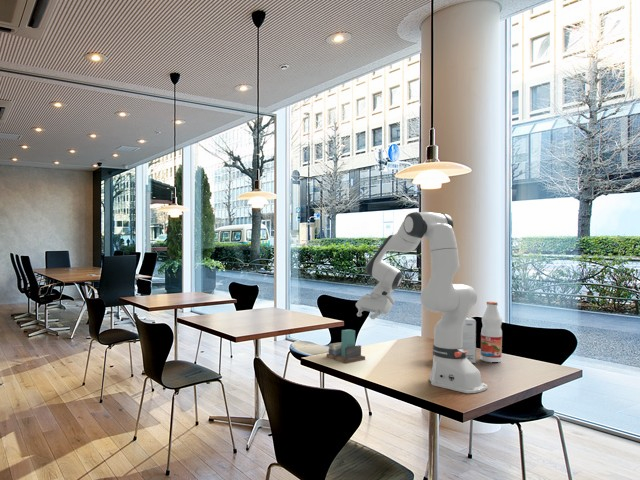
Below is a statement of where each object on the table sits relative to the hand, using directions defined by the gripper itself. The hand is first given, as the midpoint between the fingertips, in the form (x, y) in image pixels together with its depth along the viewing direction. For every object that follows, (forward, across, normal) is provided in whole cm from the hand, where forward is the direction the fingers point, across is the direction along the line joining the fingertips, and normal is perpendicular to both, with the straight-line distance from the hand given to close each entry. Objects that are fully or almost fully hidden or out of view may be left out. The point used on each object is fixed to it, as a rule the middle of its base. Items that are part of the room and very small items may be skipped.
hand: (365, 317), depth 223 cm
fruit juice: (-18, +40, +46) cm, 63 cm away
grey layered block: (+21, -2, +6) cm, 22 cm away
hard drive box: (-9, +31, +36) cm, 48 cm away
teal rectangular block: (+20, 0, +5) cm, 20 cm away
